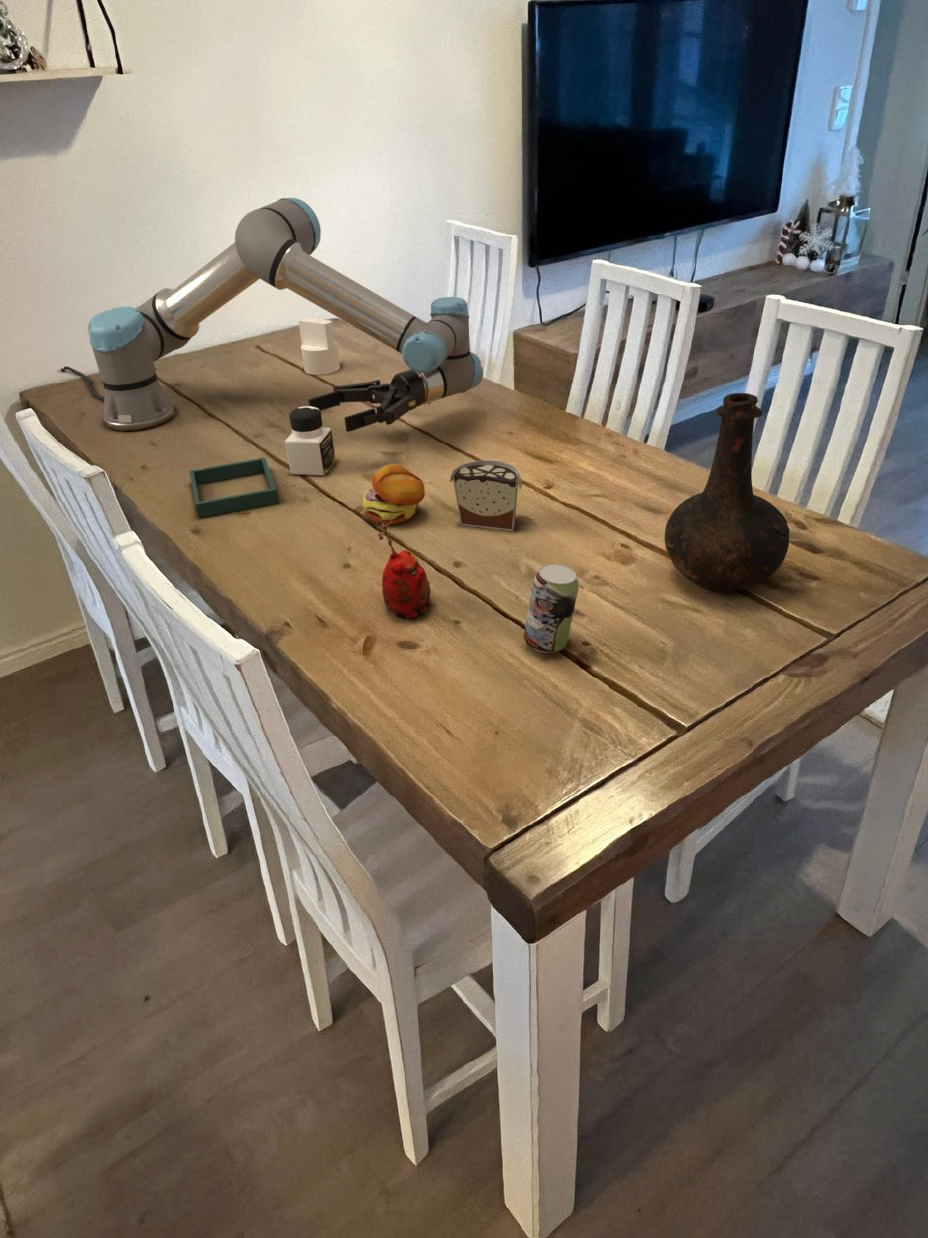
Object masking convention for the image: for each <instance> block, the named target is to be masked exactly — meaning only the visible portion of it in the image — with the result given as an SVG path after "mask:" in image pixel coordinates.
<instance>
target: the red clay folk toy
mask: <svg viewBox="0 0 928 1238" xmlns="http://www.w3.org/2000/svg"><path fill="white" fill-rule="evenodd" d="M378 521H380V522H381V523H380V524H381V527H380V526H379V527H378V526H377V527H376V530H381V529H382V530H383V531H382V532H378V534H377V537H378V540H380V541H383V539H384V535H386V537H387V544H388V546H389V547H390V549H391V554H390V555H389V558H388V561H387V562H386V564H385V567H384V569H383V571H382V577H381V587H382V597H383V602H384V605H385V606H386V607H387V609H388V610H389V611H390V612H391V613H392V614H393V615H394V616H396V617H398V618H403V617H404V618H405V619H409V620H410V619H415V618H416V617H418V616H419V615H422V614H423V613H426V612H427V606H429V605H430V603H431V599H430V596H431V592H432V591H431V587H430V586H431V585H430V584H431V583H430V581H429V579H428V576H427V574H426V571H425V569H424V567H423V566H422V565H421V564H420V562H419V559H418V557H417V556H416V555H413V554H412V552H411V551H409V550H406V549H403V550H402V551H400V552H399V553H398V552H396V550H395V548H394V546H393V542H394V539H391V538H390V535H389V532H388V530H387V529H388V527H389V526H390V525H392V524H391V523H392V522H390V523H389V524H383V522H382V521H381V520H380V519H378Z"/></svg>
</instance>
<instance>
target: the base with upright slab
mask: <svg viewBox="0 0 928 1238" xmlns="http://www.w3.org/2000/svg"><path fill="white" fill-rule="evenodd" d="M298 327H299V333H300V340H301V346H300V351H301V357H302V358H301V359H302V364H303V370H304V372H305V373H306V374H308V375H313V376H314V375H315V376H320V375H321V376H322V375H329V374H333V373H336V372H338V371H339V370H340V369H341V363H340V357H339V356H340V355H339V349H338V343H337V341H336V337H335V328H334V321H333V320H328V319H320V318H314V317H303V318H300V319H298Z"/></svg>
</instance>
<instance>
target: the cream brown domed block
mask: <svg viewBox="0 0 928 1238" xmlns="http://www.w3.org/2000/svg"><path fill="white" fill-rule="evenodd" d="M449 483H453V488H454V493H455V499H456V500H455V501H456V506H457V511H458V516H459V523H460V526H465V527H472V528H473V527H474V528H480V529H482V528H483V529H489V530H490V529H491V530H497V531H498V530H499V531H507V532H514V529H515V525H516V512H517V502H518V491H519V490H521V489H522V487H523V483H522V478H521V475H520V472H519V470H518V469H517V468H516V467H515V466H514V465H512V464H511V463H508V462H504V461H501V460H492V459H490V460H488V459H485V460H484V459H483V460H475V461H469V462H466V463H463V464H460V465H459V466H457V467H455V468H454V469H453V470H452V471H451V474H450V479H449ZM518 489H519V490H518Z"/></svg>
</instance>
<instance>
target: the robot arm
mask: <svg viewBox="0 0 928 1238" xmlns="http://www.w3.org/2000/svg"><path fill="white" fill-rule="evenodd" d="M321 232H322V231H321V223H320V221H319V218H318V216H317V214H316V212H315V211H314V209H313V208H312V207H311V206H310V205H309V204H308V203H306V201H304V200H302V199H299V198H297V197H282V198H279V199H277V200H276V201H274V202H271V203H269V204H267V205H264V206H262V207H260V208H257V209H253V210H251V211H249V212H248V213H246V214H245V215H244V216H243V217H242V218H241V219H240V221H239V223H238V224H237V226H236V229H235V234H234V242H233V243H231V244H230V245H229V246H228V247H227V248H225V249H224V250H223V251H221V252H220V253H218V254H217V255H216V256H215V257H214V258H213V259H211V260H210V261H208V262H207V263H206V264H205V265H204V266H202V267H200V268H199V269H198V270H197V271H196V272H194V273H193V274H192V275H191V276H189V277H188V278H187V279H185V280H184V281H183V282H182V283H181V284H179V285H178V286H177V287H175V288H174V289H173V288H162V289H161V290H159V291H158V292H156V293H155V294H154V295H153V296H151V297H150V298H149V299H148V300H146V301H145V302H143V303H142V304H141V305H139V306H136V307H132V306H118V307H114V308H111V309H109V310H104V311H101V312H99V313H97V314H95V315H94V316H93V317H92V318H91V319H90V320H89V322H88V324H87V332H88V335H89V344H90V346H91V348H92V352H93V355H94V358H95V362H96V365H97V369H98V372H99V375H100V379H101V383H102V385H103V390H104V396H102V395H100V394H98V393H97V391H95V389H94V388H93V387H92V385H91V380H90V379H89V378H88V377H87V376H86V375H85V374H84V373H82V372H80V371H78V370H76V369H74V368H73V367H71V366H66V365H65V367H64V366H63V367H64V369H63V368H62V367H61V369H60V372H61V373H63V372H65V370H67V371H69V372H71V373H73V374H75V375H77V376H79V377H81V378H82V379H84V381H85V382H86V385H87V388H88V390H89V392H90V393H91V394H92V395H93V396H94V397H95V398H96V399H98V400H100V401H103V419H104V424H105V426H106V427H107V428H108V429H110V430H114V431H119V432H120V431H121V432H133V431H141V430H145V429H151V428H154V427H158V426H160V425H162V424H164V423H166V422H168V421H169V420H171V419H172V418H173V417H174V415H175V409H174V404H173V403H172V401H171V400H170V397H169V396H168V394H167V393H166V391H165V390H164V388H163V386H162V385H161V383H160V381H159V379H158V375H157V370H156V367H155V362H156V361H158V360H160V359H161V358H163V357H165V356H167V355H169V354H170V353H173V352H174V351H176V350H179V349H181V348H183V347H184V346H186V345H187V344H188V343H189V342H190V341H191V339H192V338H193V337H195V336H196V335H197V334H198V332H199V331H200V323H202V322H203V321H204V320H206V319H207V318H209V317H210V316H212V314H214V313H215V312H216V311H218V310H219V309H221V308H222V307H223V306H225V305H227V304H228V303H229V302H230V301H231V300H233V299H235V298H236V297H237V296H239V295H240V294H241V293H243V292H244V291H245V290H247V289H248V288H250V287H251V286H253V284H256V283H257V282H258V281H259V280H261V281H262V282H265V283H266V284H267V285H270V286H271V287H273V288H275V289H277V290H279V291H282V290H285V289H288V290H289V291H290V292H292V293H294V294H296V295H298V296H300V297H302V298H303V299H305V300H307V301H309V302H310V303H311V304H314V305H316V306H318V307H319V308H321V309H323V310H324V311H326V312H328V313H330V314H332V315H333V316H334V317H336V318H338V319H340V320H342V321H344V323H347V324H349V325H351V326H352V327H354V328H355V329H358V330H359V331H361V332H363V333H365V334H366V335H368V336H370V337H372V338H373V339H375V340H377V341H379V342H380V343H382V344H384V345H386V346H388V347H389V348H391V349H392V350H394V351H396V352H397V353H398V354H400V355H402V360H403V362H404V364H405V365H406V367H408V369H407V370H404V371H401V372H397V373H396V374H394V375H393V377H392V379H391V382H390V383H381V380H380V379H376V380H372V381H366V382H360V383H352V384H351V383H350V384H343V385H341V384H340V385H335V386H333V387H332V390H333V391H332V392H328V393H325V394H321V395H318V396H315V397H311V398H309V399H307V401H308V406H311V407H316V408H318V409H319V410H320V411H321V412H322V411H324V410H328V409H331V408H334V407H340V406H341V404H342V403H366V402H368V403H369V404H377V405H376V406H375V408H376V409H375V408H369V409H366V410H363V411H360V412H357V413H354V414H351V415H347V416H345V417H343V420H344V426H345V432H347V433H349V432H352V431H355V430H359V429H361V428H365V427H367V426H371V425H374V424H377V423H378V424H383V423H385V424H386V425H392V424H394V423H395V422H396V421H397V420H399V419H400V418H401V417H403V416H404V415H406V414H407V413H409V412H410V411H413V410H415V409H416V408H418V407H421V406H422V405H431V404H432V402H435V401H439V400H442V399H445V398H448V397H451V396H455V395H458V394H463V393H465V392H467V391H471V390H472V389H474V388H476V387H478V386H479V385H480V384H481V383H482V381H483V378H484V367H483V366H482V361H481V359H480V358H479V356H478V355H477V354H476V353H474V352H472V351H471V341H470V320H469V319H470V315H469V308H468V303H467V301H466V299H464V298H462V297H459V296H444V297H439V298H436V299H434V300H433V301H432V302H431V304H430V318H431V319H430V320H429V321H428V322H427V321H424V320H423V319H421V318H419V317H417V316H415V315H414V314H413V313H410V312H409V311H407V310H405V309H404V308H402V307H401V306H398V305H397V304H394V303H393V302H391V301H390V300H388V299H386V298H385V297H383V296H381V295H379V294H377V293H376V292H374V291H373V290H370V289H369V288H368V287H365V286H364V285H363V284H360V283H359V282H357V281H355V280H353V279H351V278H350V277H348V276H346V275H345V274H343V273H342V272H339V271H338V270H336V269H334V268H333V267H331V266H329V265H327V264H326V263H324V262H322V261H321V260H319V259H318V258H315V257H313V256H312V254H313V253H314V252H315V251H316V250H317V248H318V246H319V245H320V242H321V235H322V233H321Z"/></svg>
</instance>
